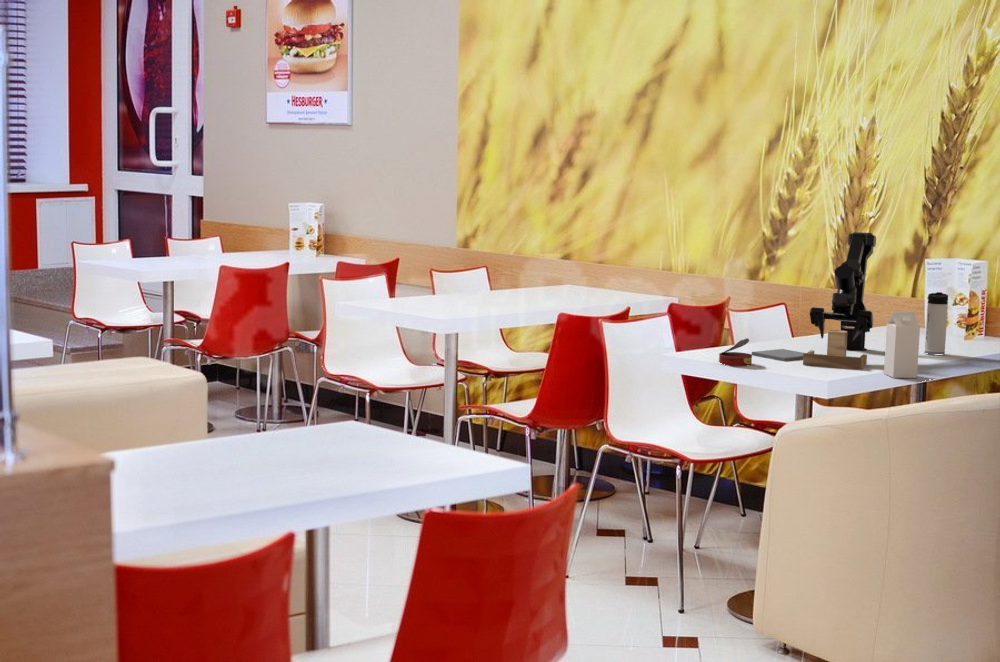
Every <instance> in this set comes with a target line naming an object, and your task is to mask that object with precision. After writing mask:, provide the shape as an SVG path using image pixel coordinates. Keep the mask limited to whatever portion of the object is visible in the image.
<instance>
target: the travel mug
mask: <svg viewBox="0 0 1000 662" xmlns="http://www.w3.org/2000/svg"><path fill="white" fill-rule="evenodd" d="M927 296H928V297H927V307H926V308H927V309H926V324H925V325H926V326H925V337H924V338H925V340H924V354H925V353H928V354H944V355H945V352H946V340H947V339H946V337H947V323H948V311H949V310H948V307H949V302H948V301H949V294H947V293H943V292H940V291H939V292H937V291H936V292H932V293H929V294H927Z"/></svg>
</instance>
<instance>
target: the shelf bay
mask: <svg viewBox="0 0 1000 662" xmlns="http://www.w3.org/2000/svg"><path fill="white" fill-rule="evenodd" d="M803 353H804V354H803V359H802V366H809V367H810V366H811V367H823V368H824V367H825V368H836V369H846V370H847V369H849V370H859V369H861V370H862V369H863V368H864V367H865V366H867V364H868V362H867V361H868V354H864V353H863V354H862V355H861V356H859V357H858V356H847V355H846V356H835V355H827V354H822V353H821V354H820V353H815V350H813V349H810V350H809V351H808V352H803Z"/></svg>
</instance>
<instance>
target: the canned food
mask: <svg viewBox="0 0 1000 662" xmlns="http://www.w3.org/2000/svg"><path fill="white" fill-rule="evenodd" d="M749 342H750V339H749V338H747V337H746V338H744V339H741V340H739V341H737V342H736V343H735V344H734V345H732V346H731V347H730V348H728V349H727V350H725V351H722V352H720V353H719V355H718V356H719V357H718V363H719V362H720V363H722V364H725V365H724V366H726V365H729V366H728V367H748V366H747V365H750V366H752V362H753V359H752V357H753V355H752V353H751V354H750V353H748V352H747V353H746V352H738V351H737V352H736V351H733V350H737V349H739V348H742V347H743V346H745V345H747V344H748V343H749ZM722 364H721V365H722Z"/></svg>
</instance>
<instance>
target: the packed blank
mask: <svg viewBox="0 0 1000 662" xmlns="http://www.w3.org/2000/svg"><path fill="white" fill-rule="evenodd" d="M826 345H827V346H826V355H835V356H847V350H846V349H847V331H844V330H843V331H841V330H839V329H838V330H837V329H836V330H834V329H831V330H829V331H827V344H826Z"/></svg>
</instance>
